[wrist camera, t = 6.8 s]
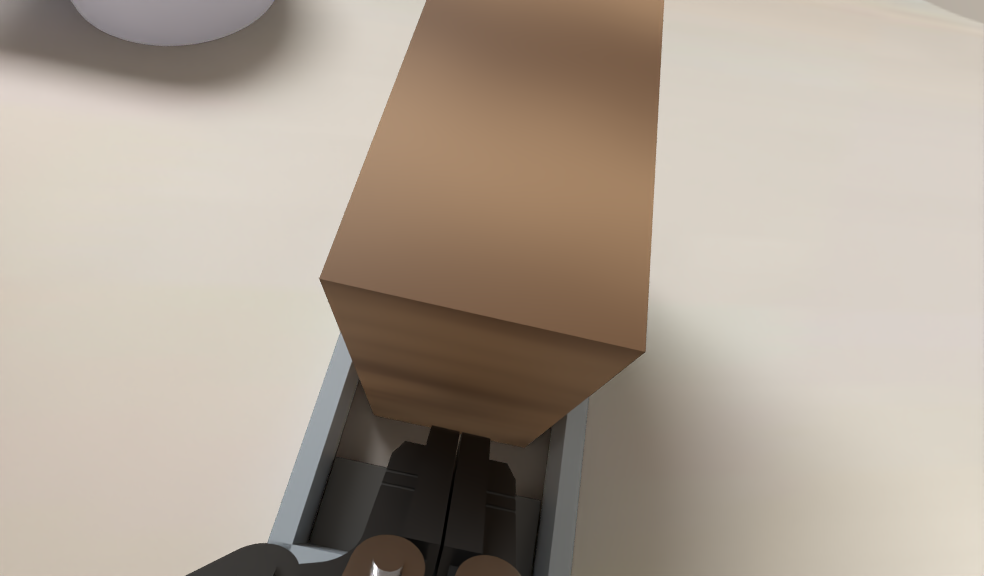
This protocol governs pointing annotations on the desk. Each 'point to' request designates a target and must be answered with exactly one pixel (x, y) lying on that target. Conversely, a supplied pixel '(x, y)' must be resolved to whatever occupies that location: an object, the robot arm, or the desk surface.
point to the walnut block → (504, 215)
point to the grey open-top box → (361, 481)
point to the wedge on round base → (171, 19)
